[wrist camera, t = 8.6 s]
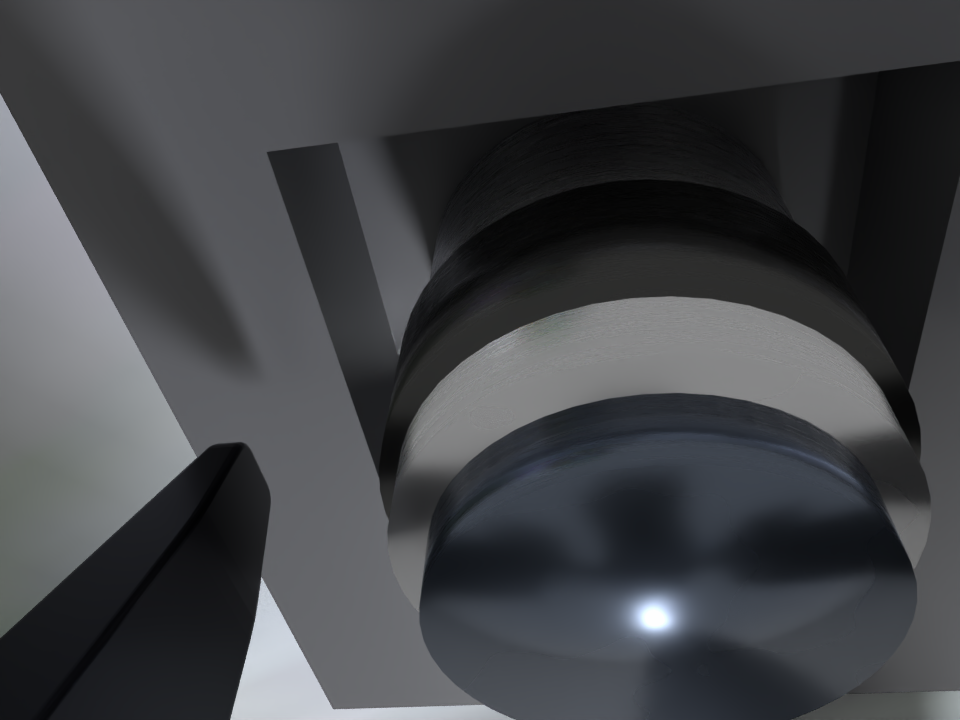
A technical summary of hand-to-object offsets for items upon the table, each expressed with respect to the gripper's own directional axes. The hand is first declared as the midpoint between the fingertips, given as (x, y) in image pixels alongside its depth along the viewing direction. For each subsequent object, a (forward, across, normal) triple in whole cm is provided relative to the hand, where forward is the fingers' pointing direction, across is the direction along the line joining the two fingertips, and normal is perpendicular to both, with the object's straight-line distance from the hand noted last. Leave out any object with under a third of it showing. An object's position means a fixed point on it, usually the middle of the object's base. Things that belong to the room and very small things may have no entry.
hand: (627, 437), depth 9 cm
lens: (+4, 0, 0) cm, 4 cm away
